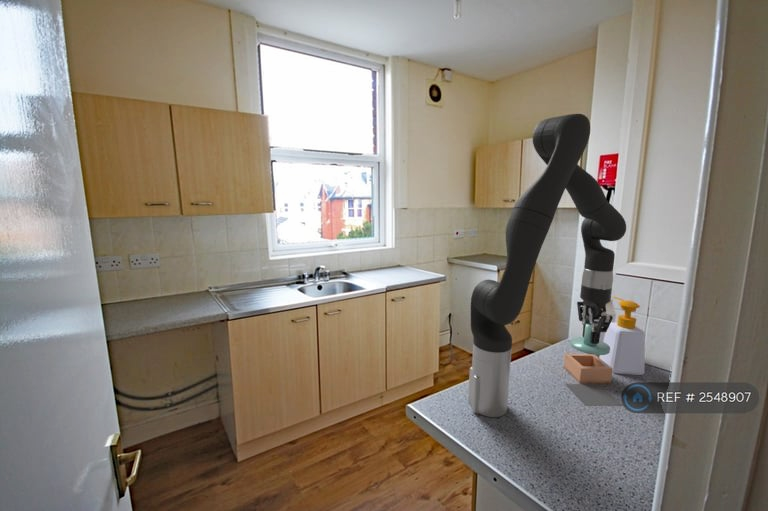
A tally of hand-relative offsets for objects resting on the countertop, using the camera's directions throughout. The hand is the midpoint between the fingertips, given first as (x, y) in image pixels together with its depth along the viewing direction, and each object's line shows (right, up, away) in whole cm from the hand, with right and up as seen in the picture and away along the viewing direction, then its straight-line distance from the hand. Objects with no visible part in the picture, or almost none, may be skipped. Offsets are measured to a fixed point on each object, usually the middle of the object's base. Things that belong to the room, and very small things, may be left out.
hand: (590, 340), depth 101 cm
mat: (-4, -13, -8) cm, 16 cm away
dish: (0, -11, +2) cm, 12 cm away
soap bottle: (+14, -10, +9) cm, 20 cm away
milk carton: (+13, -9, +19) cm, 24 cm away
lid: (0, -2, 0) cm, 2 cm away
